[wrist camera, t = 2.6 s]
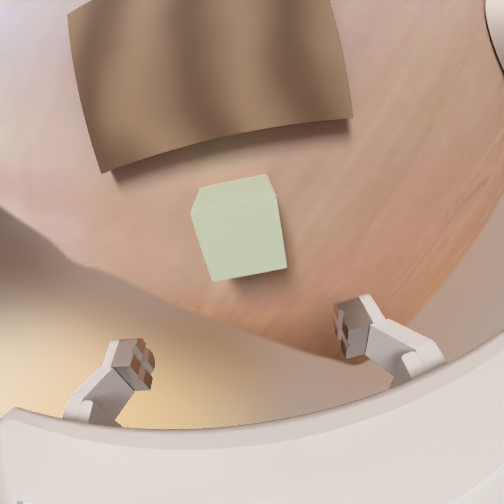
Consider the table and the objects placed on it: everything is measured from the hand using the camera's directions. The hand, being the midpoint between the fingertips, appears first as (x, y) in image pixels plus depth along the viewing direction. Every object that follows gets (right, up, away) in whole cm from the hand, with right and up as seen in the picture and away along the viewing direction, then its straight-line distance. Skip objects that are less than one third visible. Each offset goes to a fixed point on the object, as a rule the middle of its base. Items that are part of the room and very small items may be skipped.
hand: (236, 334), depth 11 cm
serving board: (-3, +17, +3) cm, 18 cm away
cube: (0, +6, +10) cm, 12 cm away
